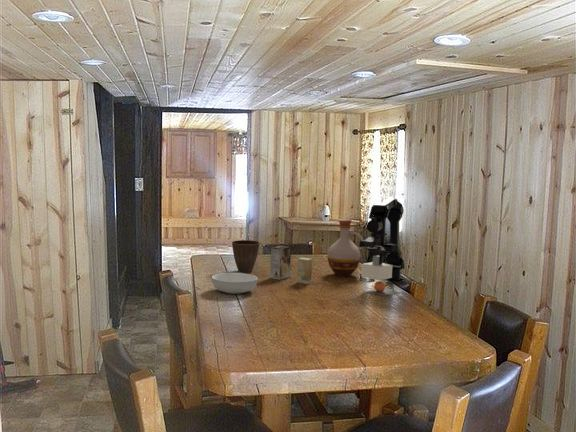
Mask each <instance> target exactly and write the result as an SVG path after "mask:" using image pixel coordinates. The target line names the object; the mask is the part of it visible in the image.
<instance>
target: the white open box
mask: <svg viewBox="0 0 576 432" xmlns="http://www.w3.org/2000/svg"><path fill="white" fill-rule="evenodd" d="M379 260H380V254H379V255H378V254H377V255H375V256H373V260H372V261H371V262H365V263H362V264H361V272H360V273H361V275H360V277H363V278H365V279H371V280H376V281H383V280H389V279H388V278H392V265H390V264H386V262H382V264H380V262H379Z"/></svg>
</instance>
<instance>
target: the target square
mask: <svg viewBox="0 0 576 432" xmlns="http://www.w3.org/2000/svg"><path fill="white" fill-rule="evenodd" d="M364 293H366V294H372V295H376V296H381V297H384V298H387V297H390V296H393V295H397V294H401V292H400V291H395V290H391V289H387V288H385V289H384V291H382V292H377V291H376V290H375V288H373V289H368V290H364Z"/></svg>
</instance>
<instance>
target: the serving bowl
mask: <svg viewBox="0 0 576 432" xmlns="http://www.w3.org/2000/svg"><path fill="white" fill-rule="evenodd" d="M258 279H259V278H258V277H257V276H256V275H254V274H249V273H242V272H222V273H221V272H220V273H216V274H213V275H212V276H211V283H212V284H213V286H214V288H215V289H217V290H218V291H220V292H223V293H226V294H230V295H231V294H232V295H239V294H243V293H246V292H247V293H248V292H250V291H252V290H253V289H255V287H256V286H257V284H258Z"/></svg>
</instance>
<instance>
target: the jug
mask: <svg viewBox="0 0 576 432" xmlns="http://www.w3.org/2000/svg"><path fill="white" fill-rule="evenodd" d="M338 223H339V224H338V228H339V231H340V232H339V235H340V236H339V238H338V239H337V240H336V241H335V242H334V243H333V244H331V246H330V247H329V248H328V250H327V252H326V257H327V262H328V265H329V268H330V269H331V271H332V272H333V274H334V275H335V276H337V277H341V278H343V277H351V276H352V275H353V274H354V272H355V271H356V270H357V269H358V267H359V264H360V261H361V256H362V255H361V251H363V250H364V248H365V247H359V246H357V245H356V244H355V243H354V242H353V241H352V240H351V236H353V235H355V236H356V237H358V239H360V240H359V241H362V240H364V238H363V236H362V235H361V234H359V233H358V232H356V231H350V230H351V228H352V225H351V223H352V219H339V220H338Z"/></svg>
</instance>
